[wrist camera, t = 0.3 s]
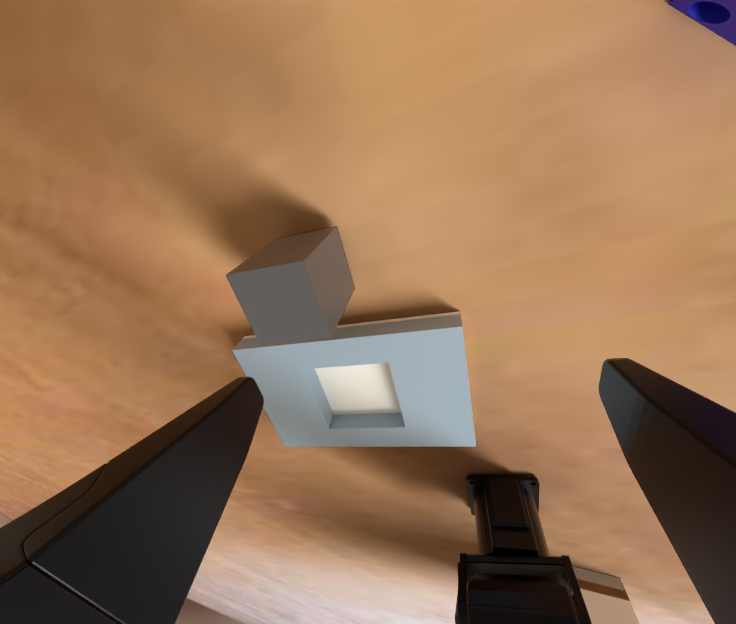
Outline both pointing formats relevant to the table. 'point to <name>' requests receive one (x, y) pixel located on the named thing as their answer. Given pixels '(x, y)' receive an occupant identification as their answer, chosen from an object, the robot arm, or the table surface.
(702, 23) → the blue notched cradle
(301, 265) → the plug
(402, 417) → the socket
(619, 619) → the white dispenser
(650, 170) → the table surface
